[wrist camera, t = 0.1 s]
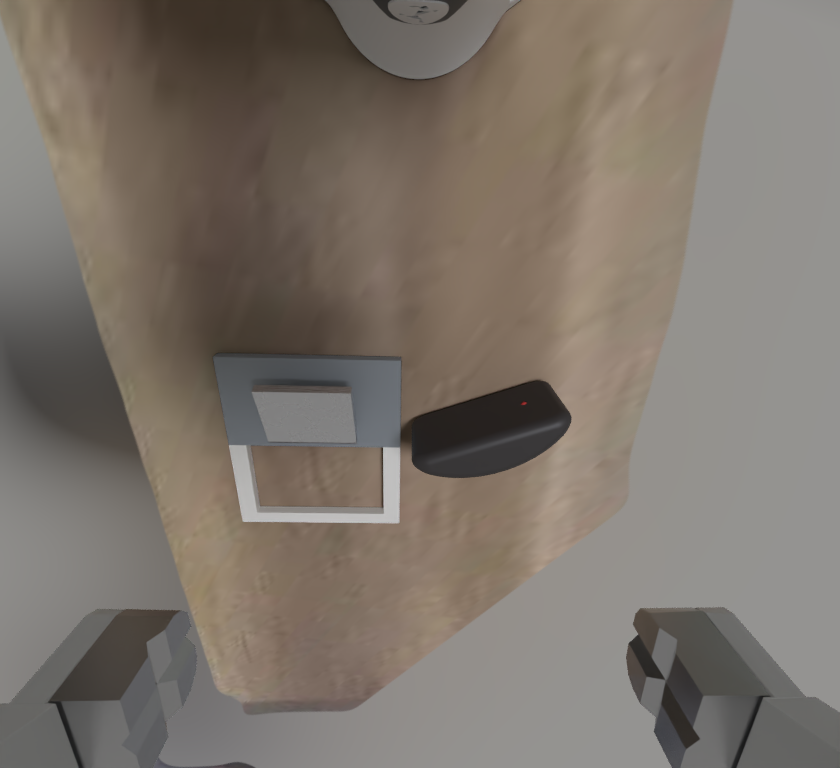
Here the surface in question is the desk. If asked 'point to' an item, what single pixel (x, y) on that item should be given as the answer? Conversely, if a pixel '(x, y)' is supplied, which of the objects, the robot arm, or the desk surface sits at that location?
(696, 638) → the robot arm
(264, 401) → the light grey rectangular plate
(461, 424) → the leaning round-cornered charcoal block
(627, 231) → the desk surface
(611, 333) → the desk surface
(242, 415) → the mounting board
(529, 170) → the desk surface
